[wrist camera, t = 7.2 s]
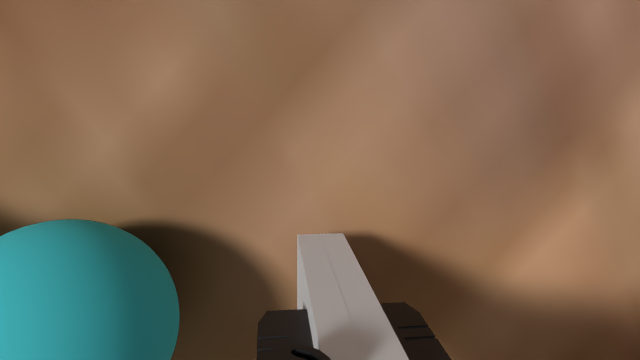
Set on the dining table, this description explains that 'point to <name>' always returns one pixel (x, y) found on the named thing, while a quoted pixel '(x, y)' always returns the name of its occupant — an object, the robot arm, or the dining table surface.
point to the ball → (84, 295)
